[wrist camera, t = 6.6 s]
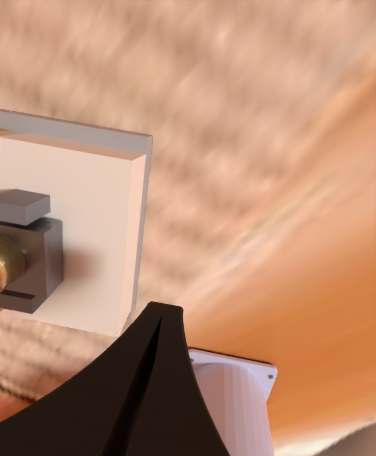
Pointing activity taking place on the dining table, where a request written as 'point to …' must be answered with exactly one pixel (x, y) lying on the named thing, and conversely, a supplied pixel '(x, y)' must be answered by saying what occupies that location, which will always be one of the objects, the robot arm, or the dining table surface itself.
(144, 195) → the plate
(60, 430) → the robot arm
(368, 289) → the dining table surface
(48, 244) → the bolt
